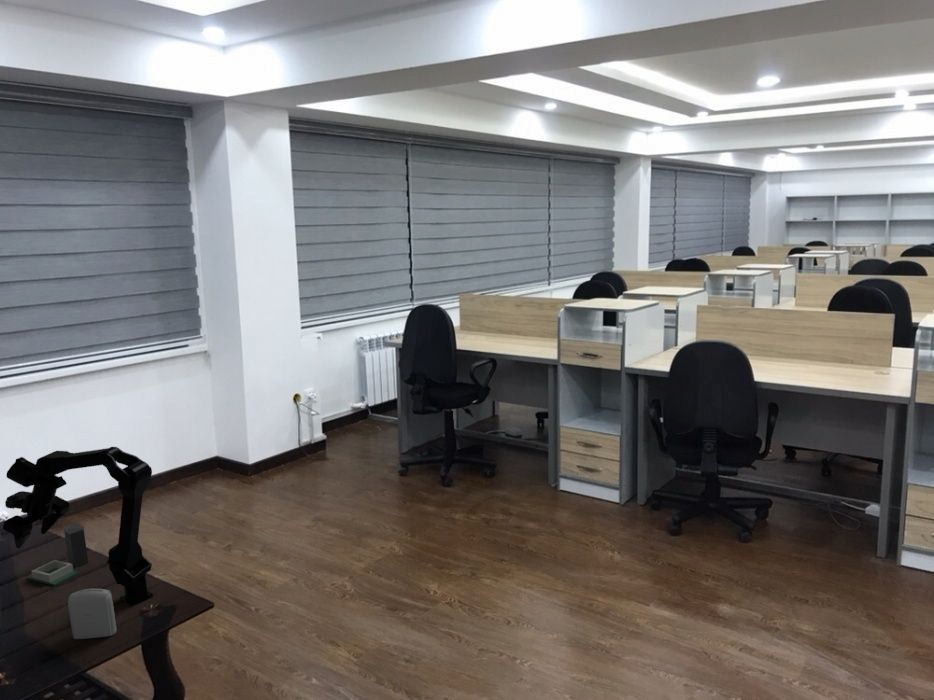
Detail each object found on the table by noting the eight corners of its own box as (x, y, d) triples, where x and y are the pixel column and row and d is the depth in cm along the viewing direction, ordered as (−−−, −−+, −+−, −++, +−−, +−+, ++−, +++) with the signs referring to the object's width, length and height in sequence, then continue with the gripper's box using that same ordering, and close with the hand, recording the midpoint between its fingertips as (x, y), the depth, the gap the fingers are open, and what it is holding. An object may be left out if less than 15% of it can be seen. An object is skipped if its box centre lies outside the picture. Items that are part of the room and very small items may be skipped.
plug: (88, 562, 227) (83, 526, 225) (74, 568, 224) (69, 530, 222) (81, 559, 230) (76, 522, 228) (68, 564, 227) (63, 527, 225)
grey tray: (79, 573, 221) (78, 564, 220) (54, 586, 214) (53, 577, 213) (51, 566, 226) (50, 558, 225) (27, 578, 218) (25, 569, 218)
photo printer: (70, 641, 185) (63, 595, 183) (77, 631, 190) (71, 587, 187) (113, 637, 186) (107, 592, 184) (119, 628, 191) (113, 584, 188)
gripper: (43, 469, 215) (31, 514, 219) (-9, 494, 197) (-21, 542, 201) (76, 486, 214) (63, 531, 218) (27, 512, 196) (14, 560, 200)
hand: (30, 540), depth 209 cm, fingers open, 9 cm apart
